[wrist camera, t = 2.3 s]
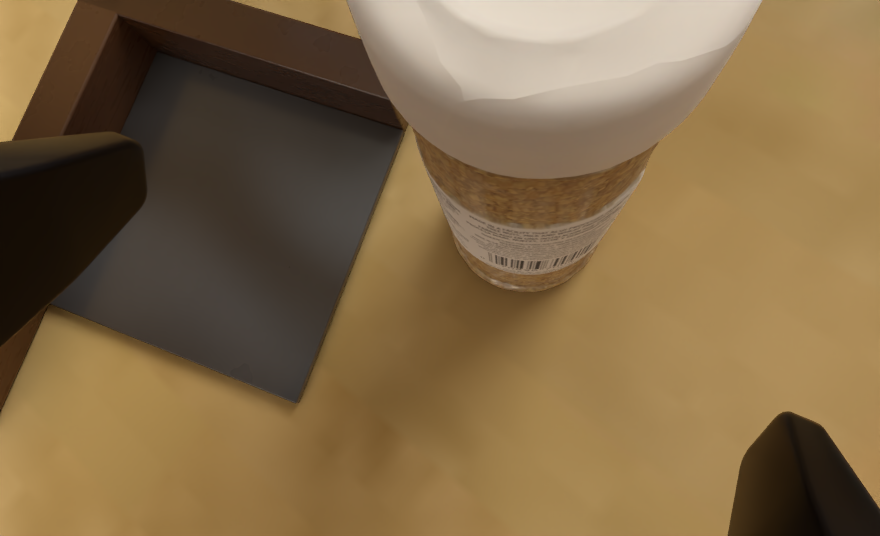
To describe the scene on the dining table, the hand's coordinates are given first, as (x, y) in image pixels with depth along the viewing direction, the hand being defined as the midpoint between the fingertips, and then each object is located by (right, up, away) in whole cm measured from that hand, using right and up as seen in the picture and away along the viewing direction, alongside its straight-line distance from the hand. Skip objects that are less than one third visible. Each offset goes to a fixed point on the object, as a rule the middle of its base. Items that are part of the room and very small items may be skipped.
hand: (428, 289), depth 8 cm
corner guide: (-8, +1, +12) cm, 15 cm away
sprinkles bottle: (+3, +2, +11) cm, 12 cm away
